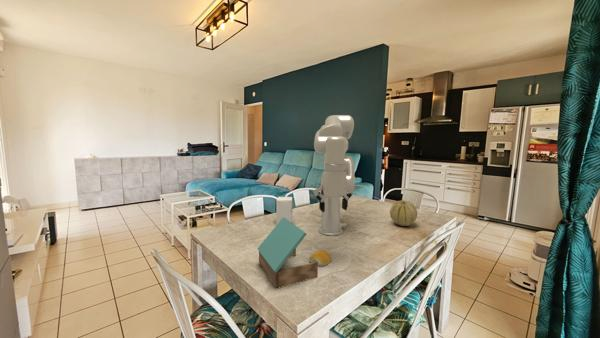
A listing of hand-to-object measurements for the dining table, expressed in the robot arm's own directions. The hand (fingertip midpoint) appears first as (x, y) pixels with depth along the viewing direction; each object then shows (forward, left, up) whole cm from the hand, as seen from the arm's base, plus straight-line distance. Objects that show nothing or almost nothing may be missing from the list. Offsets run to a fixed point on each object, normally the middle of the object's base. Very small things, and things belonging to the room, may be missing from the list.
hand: (333, 210), depth 99 cm
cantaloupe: (-61, -16, -21) cm, 66 cm away
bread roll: (+5, -1, -22) cm, 22 cm away
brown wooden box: (+20, -1, -21) cm, 29 cm away
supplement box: (0, -49, -21) cm, 53 cm away
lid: (+22, -1, -10) cm, 24 cm away
